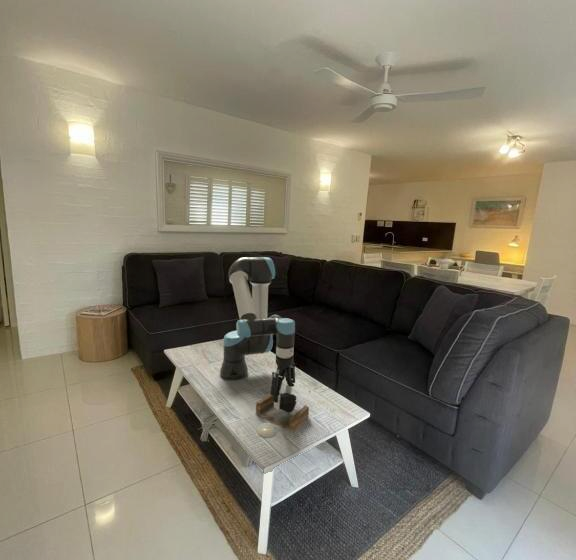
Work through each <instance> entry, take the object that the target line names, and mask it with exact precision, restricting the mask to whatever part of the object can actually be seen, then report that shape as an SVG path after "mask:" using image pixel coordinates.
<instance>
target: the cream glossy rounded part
mask: <svg viewBox="0 0 576 560" xmlns="http://www.w3.org/2000/svg"><path fill="white" fill-rule="evenodd" d="M256 433H257V435H258V436H259V437H263V438H271V437H273V436H274V435H276V433H277V428H276V426H275V424H272V423H269V422H263V423H260V424H258V426H256Z"/></svg>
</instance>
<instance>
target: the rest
mask: <svg viewBox="0 0 576 560" xmlns="http://www.w3.org/2000/svg"><path fill="white" fill-rule="evenodd" d="M273 397H274V396H273V395H271V394H270V392H269V393H268V394H267V395H265V396H263V397H261V398H260V399H259V400H258V401H256V402H255V414H257V415H259V416H262V417H263V418H265V419H267V420H269V421H271V422H272V423H275V424H277V425H279V426H280V427H283V429H286V430H288V431H290V432H292V433H294V431H296V430H297V429H298V428H299V427H300V426H301V425H302V424H303V423H304V422H305V421H306V420H307V419H309V413H310V412H309V411H310V406H308V405H303V406H302V407H301V408H300V409H299V410H298V409H296V408H294V410H293V411H292V412H290V413H288V412H286V411H284V410H281V409H279V410H278V409H276V408H274V403H273Z"/></svg>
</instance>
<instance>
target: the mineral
mask: <svg viewBox="0 0 576 560" xmlns="http://www.w3.org/2000/svg"><path fill="white" fill-rule="evenodd" d="M279 395H280V409H281V410H284V411H286V412H288V413H290V412H292V411H293V410H294V409H295V406H296V405H297V396H296V395H295V394H294V393H293V394H292V393H291V394H288V393H286V392H282V391H280V393H279ZM273 403H274V397H273Z"/></svg>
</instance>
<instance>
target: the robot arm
mask: <svg viewBox="0 0 576 560" xmlns="http://www.w3.org/2000/svg"><path fill="white" fill-rule="evenodd" d="M275 277H276V267H275V264H274V261H273V259H272V258H270V257H266V256H254V257H251V256H250V257H249V256H245V257H244V256H243V257H240V258H238V259H235V261H234V262H233V263H232V264H231V266H230V267H229V270H228V281H229V283H230V284H232V290H233V293H234V299H235V303H236V307H237V308H236V309H237V313H238V318H239V319H238V320H237V321H236V325H235V328H236V329H235V330H232V331H230V332H228V333H225V335H224V337H223V341H222V345H223V361H222V364H221V367H220V369H219V374H220V375H219V376H220V377H221V378H222V379H225V380H230V381H235V380H236V381H237V380H241V379H243V378H245V377H247V376H248V372H249V369H248V365H247V361H246V356H251V355H258V354H259V355H260V354H261V355H262V354H265V353H266V354H267V353H269V352H271V350H272V348H273V343H274V339H273V338H274V337H273V336H275V338H276V341H275V342H276V343H275V354H276V355H275V364H276V366H277V367H276V371H275V372H274V371H273V372H272V373H271V377H272V379H271V385H270V392H269V393H270V394H271V395H273V396H274V408H276V409H278V410H279V409H280V395H279V393H280V392H281V389H282V385H283V381H284V380H285V381H286V385H285V393H288V394H291V395H292V391H293V390H292V389H293V387H295V384H296V371H295V370H296V363H294V350H295V349H294V347H295V335H296V334H295V332H296V327H295V326H296V322H295V320H294V319H291V318H288V317H282V316H280V315H278V314H273V315H270V316H269V317H268V310H269V309H268V308H269V307H268V306H269V303H268V302H269V301H268V300H269V286H270V284H271V283H272V280H273V279H275ZM248 281H249V283H250V284H251V286H252V289H251V291H250V286H249V283H248Z"/></svg>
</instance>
